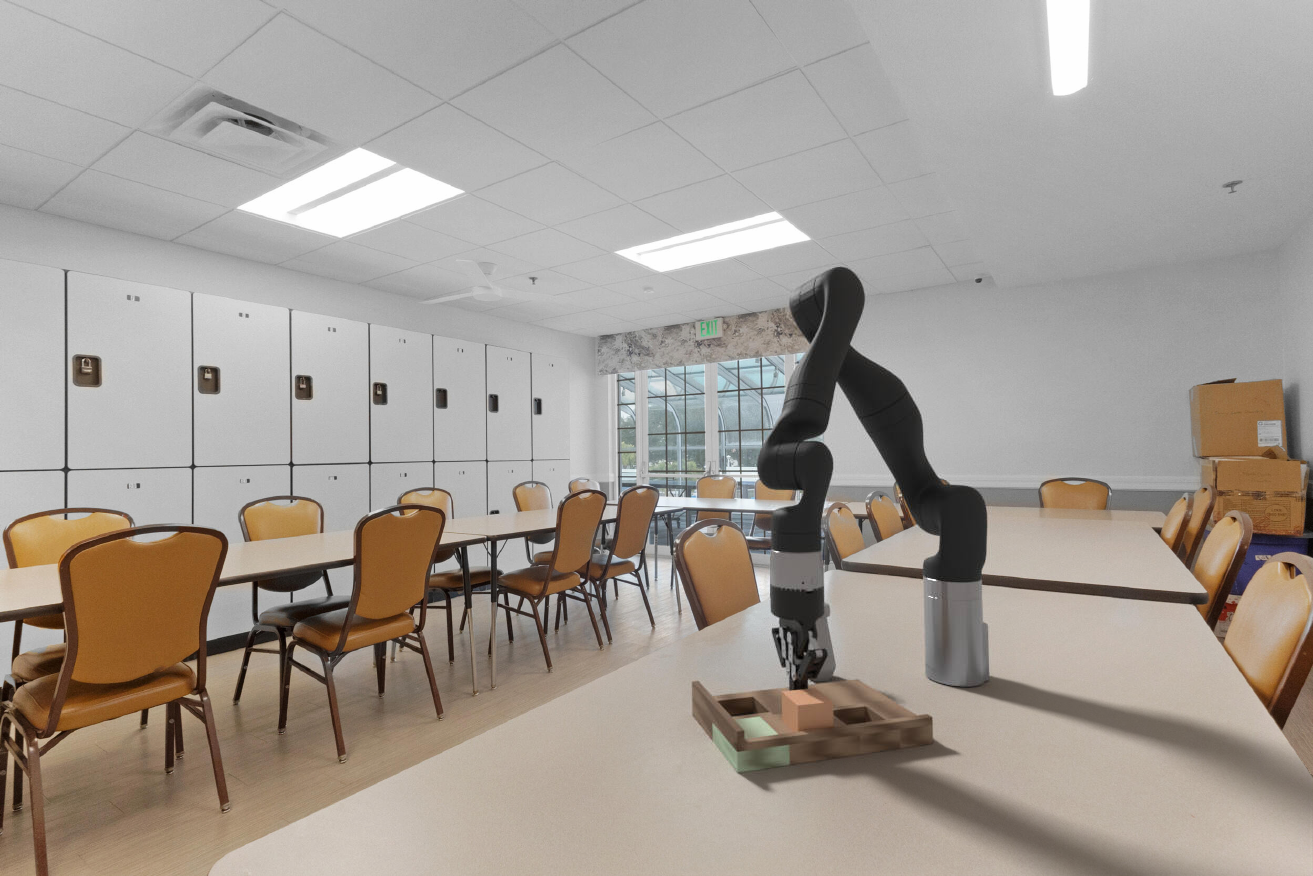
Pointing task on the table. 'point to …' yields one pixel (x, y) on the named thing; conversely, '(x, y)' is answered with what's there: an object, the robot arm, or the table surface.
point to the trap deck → (765, 741)
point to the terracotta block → (806, 710)
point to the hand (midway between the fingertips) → (798, 704)
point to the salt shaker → (825, 646)
